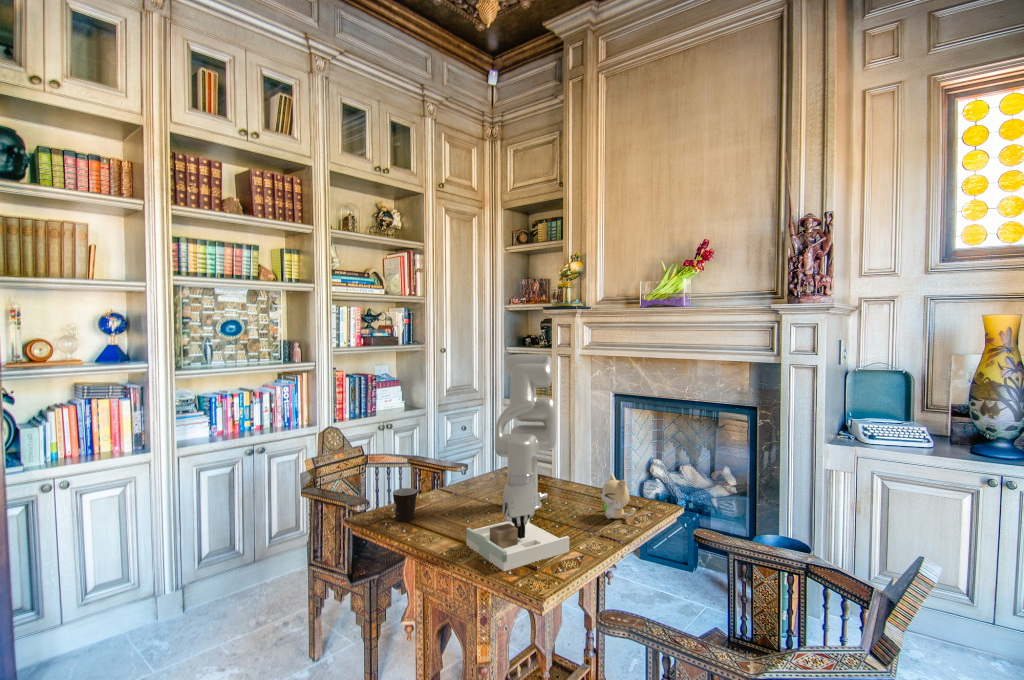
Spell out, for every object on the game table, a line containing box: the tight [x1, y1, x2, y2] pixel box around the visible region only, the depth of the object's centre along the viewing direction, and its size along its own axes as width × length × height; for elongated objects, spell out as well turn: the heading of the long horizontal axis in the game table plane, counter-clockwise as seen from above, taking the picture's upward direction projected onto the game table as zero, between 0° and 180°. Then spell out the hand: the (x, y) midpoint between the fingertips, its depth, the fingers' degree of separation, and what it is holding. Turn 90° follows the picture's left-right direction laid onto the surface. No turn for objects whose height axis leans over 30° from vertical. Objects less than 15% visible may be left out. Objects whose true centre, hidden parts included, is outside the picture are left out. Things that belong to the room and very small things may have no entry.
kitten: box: [600, 472, 636, 520], centre depth 192 cm, size 15×10×15 cm
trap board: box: [465, 517, 570, 572], centre depth 164 cm, size 24×22×6 cm
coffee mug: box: [392, 487, 418, 523], centre depth 189 cm, size 12×9×10 cm
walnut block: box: [490, 523, 518, 549], centre depth 161 cm, size 7×5×5 cm
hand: (519, 536), depth 165 cm, fingers closed
